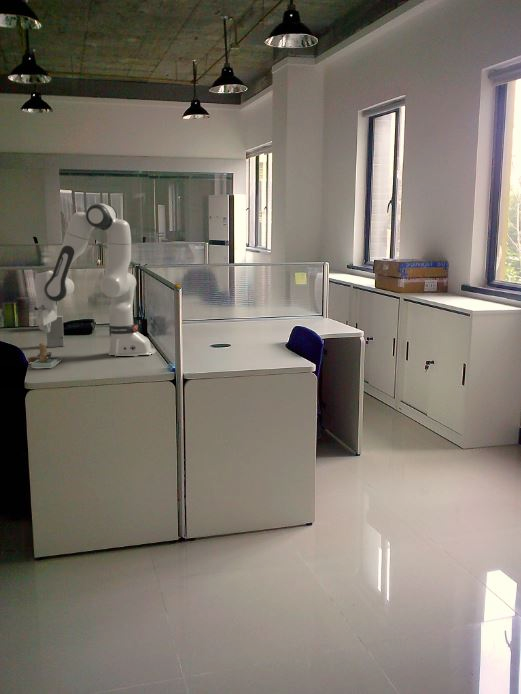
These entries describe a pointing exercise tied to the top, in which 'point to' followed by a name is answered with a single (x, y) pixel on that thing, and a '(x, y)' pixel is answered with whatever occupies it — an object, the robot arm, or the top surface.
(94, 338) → the top surface
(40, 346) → the dowel
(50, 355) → the steel block
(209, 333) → the top surface
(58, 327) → the skincare box
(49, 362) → the tray
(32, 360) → the block
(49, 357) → the socket
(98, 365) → the top surface
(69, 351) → the top surface
